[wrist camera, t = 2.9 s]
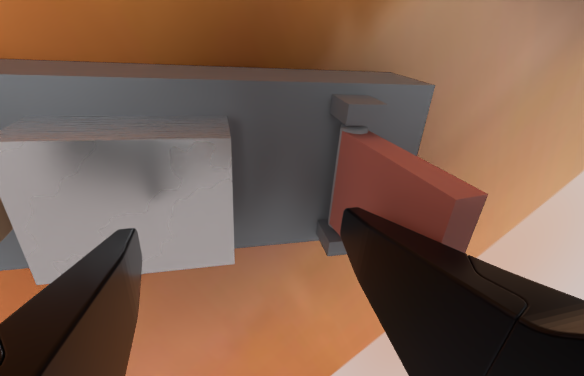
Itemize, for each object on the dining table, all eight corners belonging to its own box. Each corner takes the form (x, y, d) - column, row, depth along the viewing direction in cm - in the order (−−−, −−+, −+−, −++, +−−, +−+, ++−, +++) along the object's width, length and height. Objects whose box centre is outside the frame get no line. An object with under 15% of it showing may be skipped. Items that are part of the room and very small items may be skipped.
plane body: (390, 72, 15) (471, 96, 11) (366, 198, 19) (420, 259, 14) (-33, 57, 11) (-204, 84, 7) (29, 220, 15) (-57, 315, 10)
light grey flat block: (226, 116, 11) (231, 137, 9) (230, 225, 13) (234, 263, 11) (27, 116, 10) (-23, 142, 8) (66, 238, 12) (36, 284, 10)
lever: (359, 122, 12) (489, 190, 7) (344, 216, 14) (440, 316, 9) (336, 123, 12) (457, 195, 7) (324, 219, 14) (412, 325, 9)
